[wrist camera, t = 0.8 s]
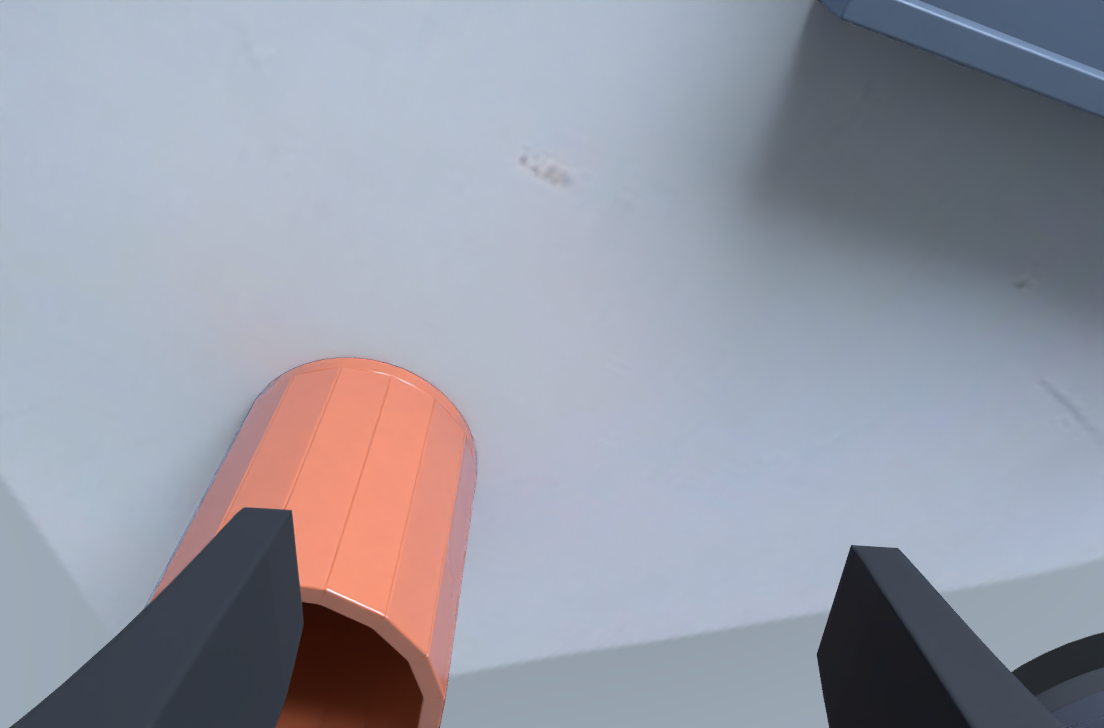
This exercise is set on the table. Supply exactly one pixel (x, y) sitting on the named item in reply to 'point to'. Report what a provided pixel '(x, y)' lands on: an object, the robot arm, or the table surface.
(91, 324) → the table surface
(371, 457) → the cup
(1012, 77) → the tray
